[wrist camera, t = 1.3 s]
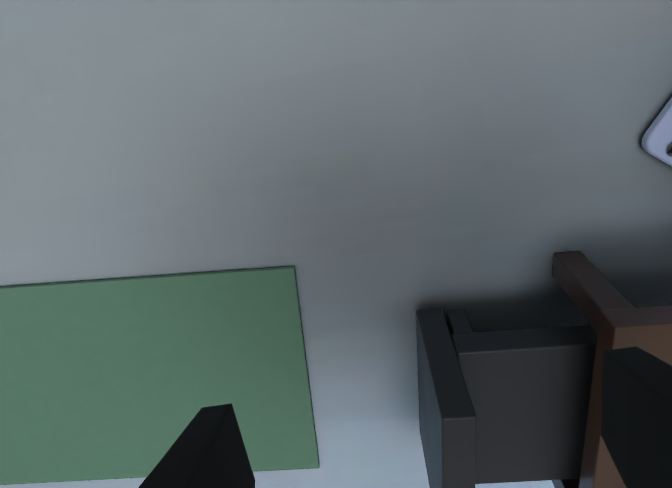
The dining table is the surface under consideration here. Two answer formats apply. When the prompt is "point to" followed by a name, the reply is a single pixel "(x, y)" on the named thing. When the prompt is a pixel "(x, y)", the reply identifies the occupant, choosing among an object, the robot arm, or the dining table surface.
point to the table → (613, 333)
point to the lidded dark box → (501, 400)
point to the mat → (150, 372)
